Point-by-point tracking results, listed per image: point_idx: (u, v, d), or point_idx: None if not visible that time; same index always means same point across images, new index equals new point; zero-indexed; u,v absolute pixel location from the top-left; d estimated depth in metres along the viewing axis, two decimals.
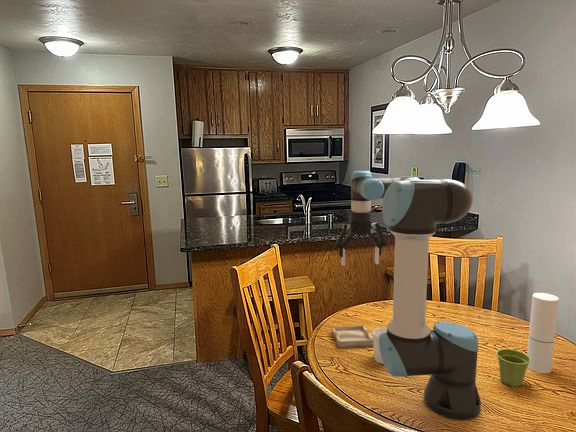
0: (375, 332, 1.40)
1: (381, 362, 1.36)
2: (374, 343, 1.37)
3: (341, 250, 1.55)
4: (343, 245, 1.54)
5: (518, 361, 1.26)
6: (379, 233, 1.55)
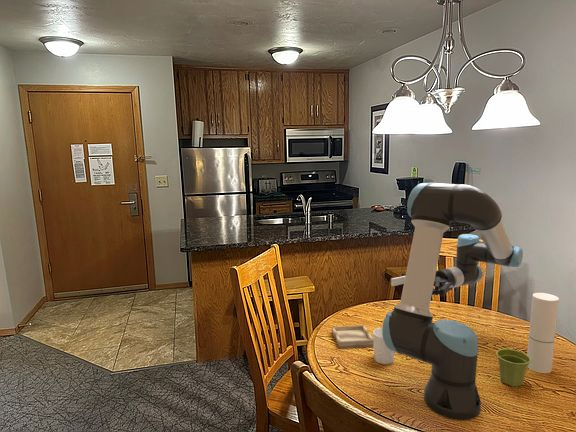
0: (375, 332, 1.40)
1: (381, 362, 1.36)
2: (374, 343, 1.37)
3: None
4: None
5: (518, 361, 1.26)
6: (446, 285, 1.40)
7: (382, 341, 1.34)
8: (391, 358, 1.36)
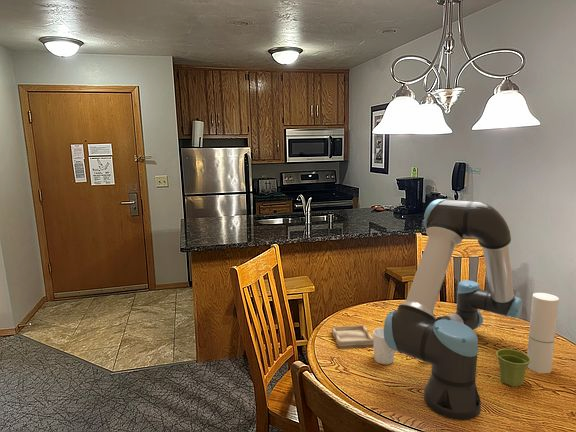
0: (375, 332, 1.40)
1: (381, 362, 1.36)
2: (374, 343, 1.37)
3: None
4: None
5: (518, 361, 1.26)
6: None
7: (382, 341, 1.34)
8: (391, 358, 1.36)
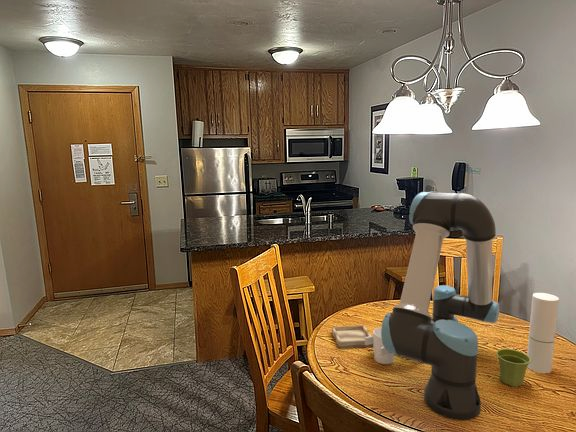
0: (375, 332, 1.40)
1: (381, 362, 1.36)
2: (374, 343, 1.37)
3: None
4: None
5: (518, 361, 1.26)
6: None
7: None
8: (391, 358, 1.36)
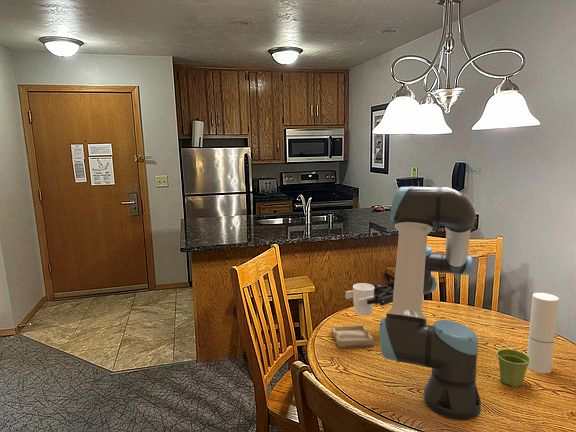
0: (355, 287, 1.50)
1: (360, 313, 1.46)
2: (354, 296, 1.47)
3: None
4: None
5: (518, 361, 1.26)
6: (391, 295, 1.46)
7: (360, 293, 1.44)
8: (369, 310, 1.46)
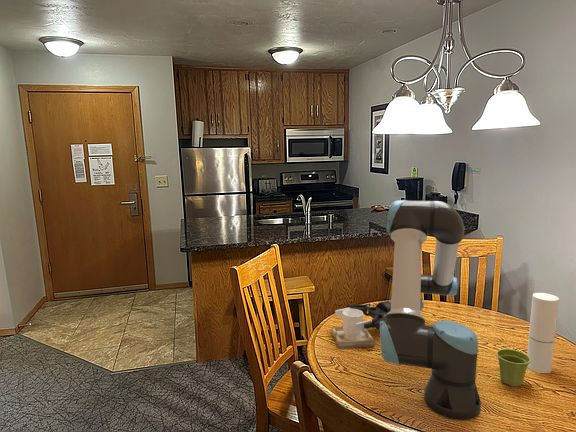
0: (345, 312, 1.55)
1: (350, 339, 1.51)
2: (343, 322, 1.52)
3: (347, 308, 1.61)
4: (352, 307, 1.61)
5: (518, 361, 1.26)
6: (383, 318, 1.50)
7: (350, 320, 1.49)
8: (358, 335, 1.51)
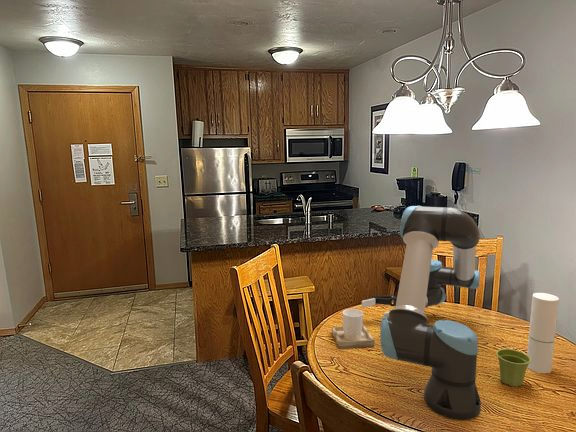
0: (345, 312, 1.55)
1: (350, 339, 1.51)
2: (343, 322, 1.52)
3: (372, 299, 1.66)
4: (377, 298, 1.66)
5: (518, 361, 1.26)
6: None
7: (350, 319, 1.49)
8: (358, 335, 1.51)
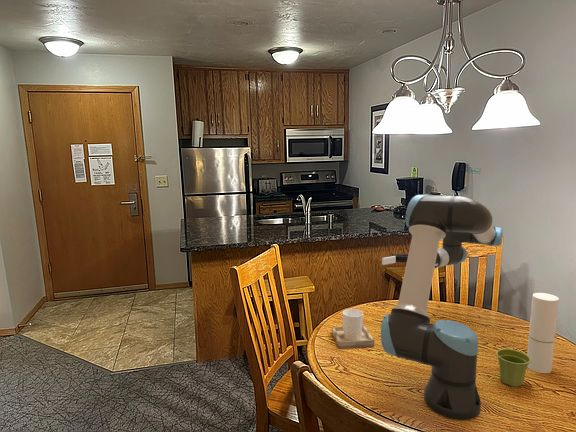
0: (345, 312, 1.55)
1: (350, 339, 1.51)
2: (343, 322, 1.52)
3: None
4: (397, 255, 1.64)
5: (518, 361, 1.26)
6: None
7: (350, 320, 1.49)
8: (358, 335, 1.51)
